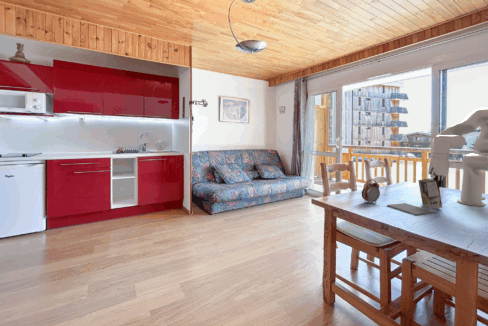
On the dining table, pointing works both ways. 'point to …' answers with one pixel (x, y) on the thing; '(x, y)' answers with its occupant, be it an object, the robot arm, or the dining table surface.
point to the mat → (411, 209)
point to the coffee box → (430, 193)
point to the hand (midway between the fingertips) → (437, 186)
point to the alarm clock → (371, 192)
